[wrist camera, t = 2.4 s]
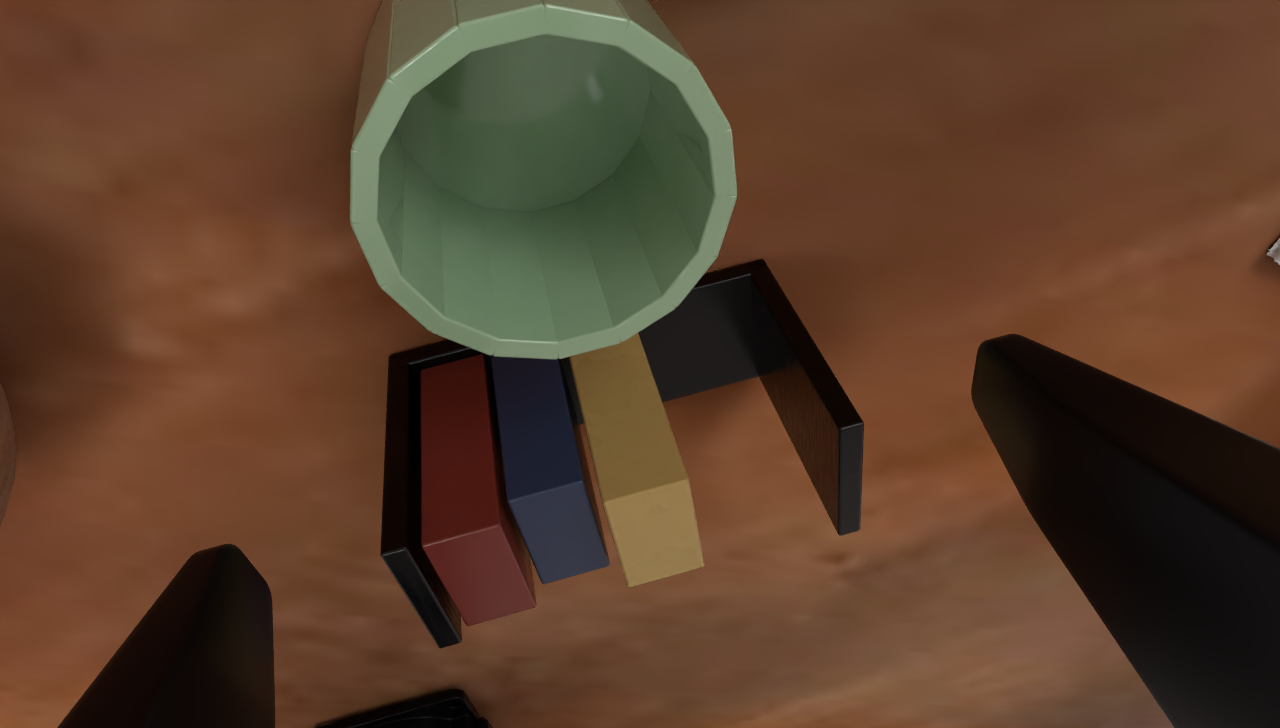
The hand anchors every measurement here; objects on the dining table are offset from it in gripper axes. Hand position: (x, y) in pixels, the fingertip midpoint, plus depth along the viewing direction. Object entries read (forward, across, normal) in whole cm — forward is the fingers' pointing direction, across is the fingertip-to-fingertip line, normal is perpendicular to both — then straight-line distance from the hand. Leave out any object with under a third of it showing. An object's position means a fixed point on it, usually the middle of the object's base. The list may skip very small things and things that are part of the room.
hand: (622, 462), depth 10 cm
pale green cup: (+12, 0, 0) cm, 12 cm away
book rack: (+12, 0, +8) cm, 15 cm away
